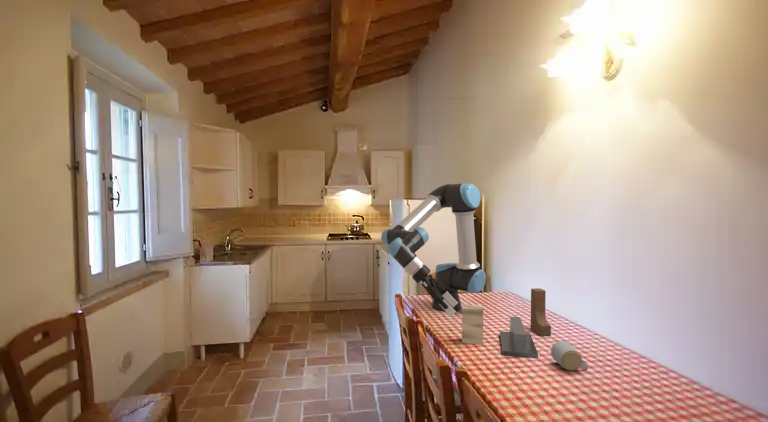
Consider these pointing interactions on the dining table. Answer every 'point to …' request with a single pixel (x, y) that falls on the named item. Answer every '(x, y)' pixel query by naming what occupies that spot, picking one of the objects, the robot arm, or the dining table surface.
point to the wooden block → (539, 313)
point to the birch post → (472, 324)
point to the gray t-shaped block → (517, 340)
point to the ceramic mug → (567, 356)
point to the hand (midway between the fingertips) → (454, 309)
